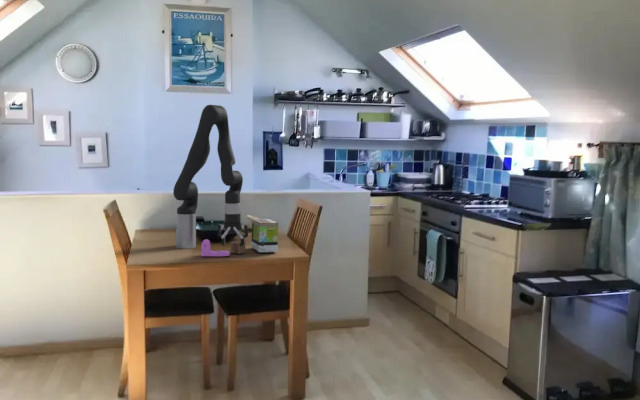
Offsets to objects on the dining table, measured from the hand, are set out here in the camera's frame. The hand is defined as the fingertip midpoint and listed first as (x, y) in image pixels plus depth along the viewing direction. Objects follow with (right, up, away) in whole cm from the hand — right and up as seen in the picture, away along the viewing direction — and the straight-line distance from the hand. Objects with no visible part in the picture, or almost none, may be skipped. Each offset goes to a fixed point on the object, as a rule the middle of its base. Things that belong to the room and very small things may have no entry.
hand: (232, 246), depth 259 cm
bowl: (+4, +3, +67) cm, 67 cm away
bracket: (-7, -4, -4) cm, 9 cm away
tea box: (+14, -3, +11) cm, 18 cm away
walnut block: (+3, -1, +5) cm, 6 cm away
